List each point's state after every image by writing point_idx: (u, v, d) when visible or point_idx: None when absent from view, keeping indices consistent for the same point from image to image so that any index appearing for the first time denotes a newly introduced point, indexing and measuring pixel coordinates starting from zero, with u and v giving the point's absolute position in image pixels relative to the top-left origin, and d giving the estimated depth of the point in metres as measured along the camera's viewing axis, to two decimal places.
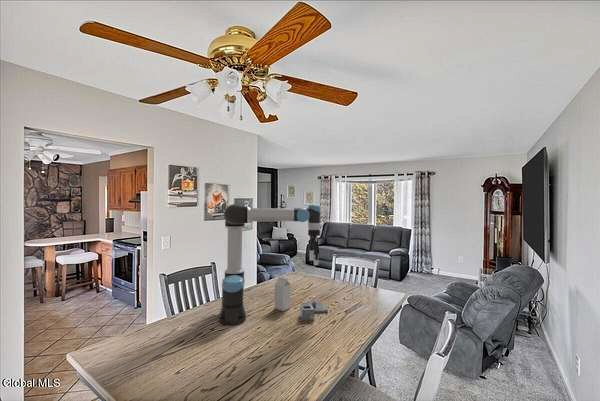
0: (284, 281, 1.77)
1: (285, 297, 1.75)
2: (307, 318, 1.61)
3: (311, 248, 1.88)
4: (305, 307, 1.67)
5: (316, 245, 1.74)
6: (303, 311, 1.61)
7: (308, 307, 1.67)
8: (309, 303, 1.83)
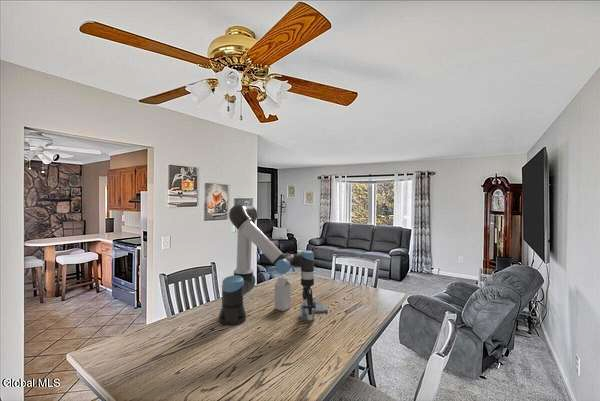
0: (284, 281, 1.77)
1: (285, 297, 1.75)
2: None
3: (305, 297, 1.71)
4: (305, 307, 1.67)
5: (310, 298, 1.56)
6: (303, 311, 1.61)
7: None
8: None
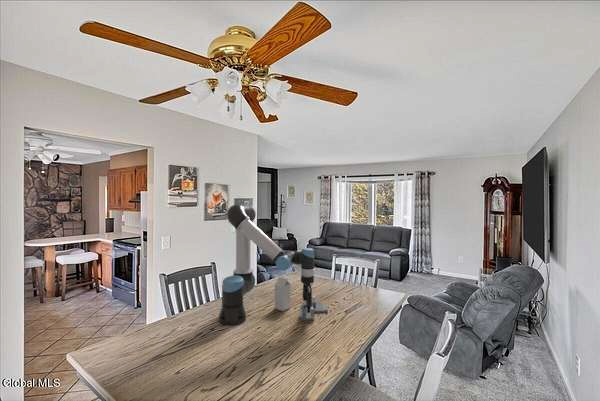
0: (284, 281, 1.77)
1: (285, 297, 1.75)
2: (307, 318, 1.61)
3: (305, 297, 1.69)
4: (305, 307, 1.67)
5: (309, 297, 1.58)
6: (303, 311, 1.61)
7: None
8: None
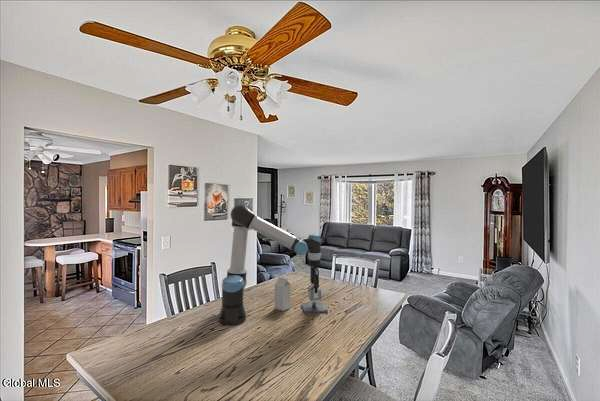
0: (284, 281, 1.77)
1: (285, 297, 1.75)
2: (315, 298, 1.75)
3: (312, 280, 1.82)
4: (312, 289, 1.80)
5: (316, 278, 1.72)
6: (311, 292, 1.75)
7: None
8: (309, 303, 1.83)
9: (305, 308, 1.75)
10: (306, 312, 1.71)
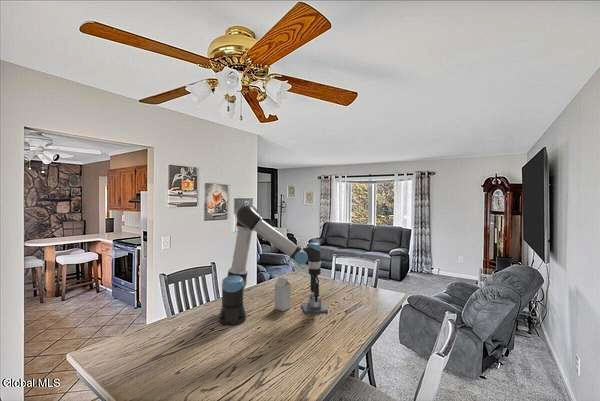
0: (284, 281, 1.77)
1: (285, 297, 1.75)
2: None
3: (313, 289, 1.82)
4: None
5: (316, 287, 1.72)
6: (311, 300, 1.75)
7: None
8: None
9: (305, 308, 1.75)
10: (306, 312, 1.71)
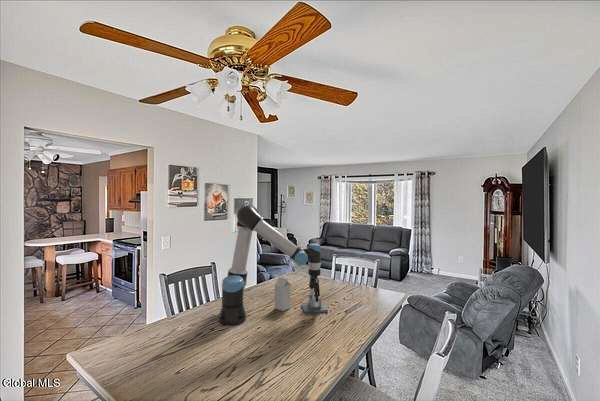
0: (284, 281, 1.77)
1: (285, 297, 1.75)
2: None
3: (311, 286, 1.85)
4: None
5: (316, 287, 1.71)
6: (311, 300, 1.75)
7: None
8: None
9: (305, 308, 1.75)
10: (306, 312, 1.71)
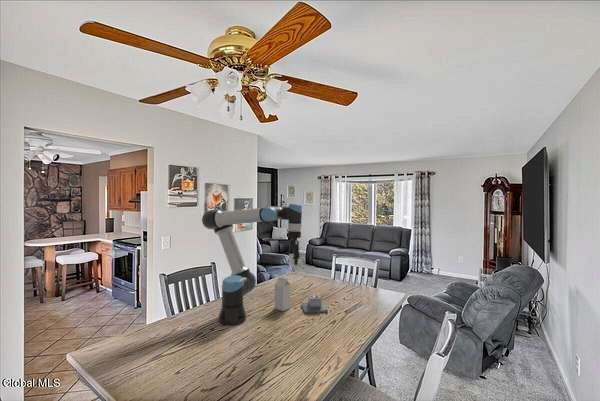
0: (284, 281, 1.77)
1: (285, 297, 1.75)
2: (315, 306, 1.75)
3: (291, 251, 1.71)
4: None
5: (296, 248, 1.57)
6: (311, 300, 1.75)
7: None
8: None
9: (305, 308, 1.75)
10: (306, 312, 1.71)
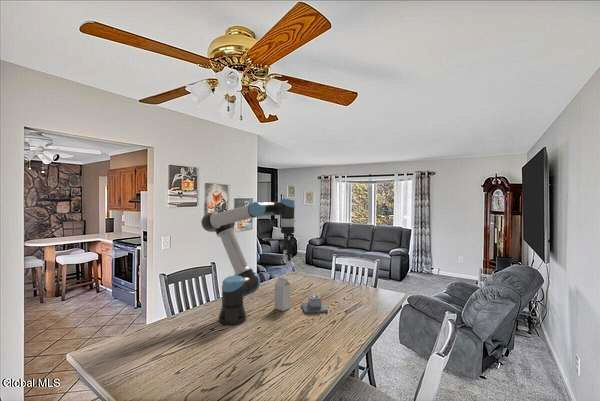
0: (284, 281, 1.77)
1: (285, 297, 1.75)
2: (315, 306, 1.75)
3: (285, 247, 1.67)
4: None
5: (289, 244, 1.53)
6: (311, 300, 1.75)
7: None
8: None
9: (305, 308, 1.75)
10: (306, 312, 1.71)
